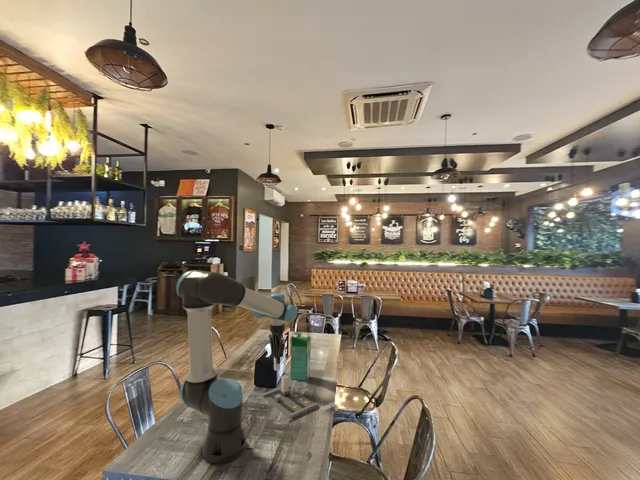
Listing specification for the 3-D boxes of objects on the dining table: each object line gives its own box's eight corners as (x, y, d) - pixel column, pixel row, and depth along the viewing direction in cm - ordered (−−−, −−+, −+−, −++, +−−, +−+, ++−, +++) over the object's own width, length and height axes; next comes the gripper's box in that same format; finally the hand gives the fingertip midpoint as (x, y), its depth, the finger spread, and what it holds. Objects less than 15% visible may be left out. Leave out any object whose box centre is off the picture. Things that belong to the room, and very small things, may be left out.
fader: (284, 395, 143) (284, 378, 143) (279, 392, 146) (279, 375, 147) (290, 393, 145) (290, 376, 145) (285, 389, 149) (285, 373, 149)
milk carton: (306, 383, 161) (307, 337, 161) (290, 381, 162) (291, 336, 163) (310, 376, 169) (310, 332, 170) (294, 374, 171) (295, 331, 172)
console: (290, 422, 125) (290, 414, 125) (261, 399, 143) (261, 392, 143) (318, 409, 135) (319, 401, 135) (288, 389, 153) (289, 382, 154)
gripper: (290, 325, 150) (290, 371, 150) (276, 319, 160) (276, 363, 160) (278, 327, 145) (277, 375, 145) (264, 322, 155) (264, 367, 155)
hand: (276, 369), depth 152 cm, fingers closed
